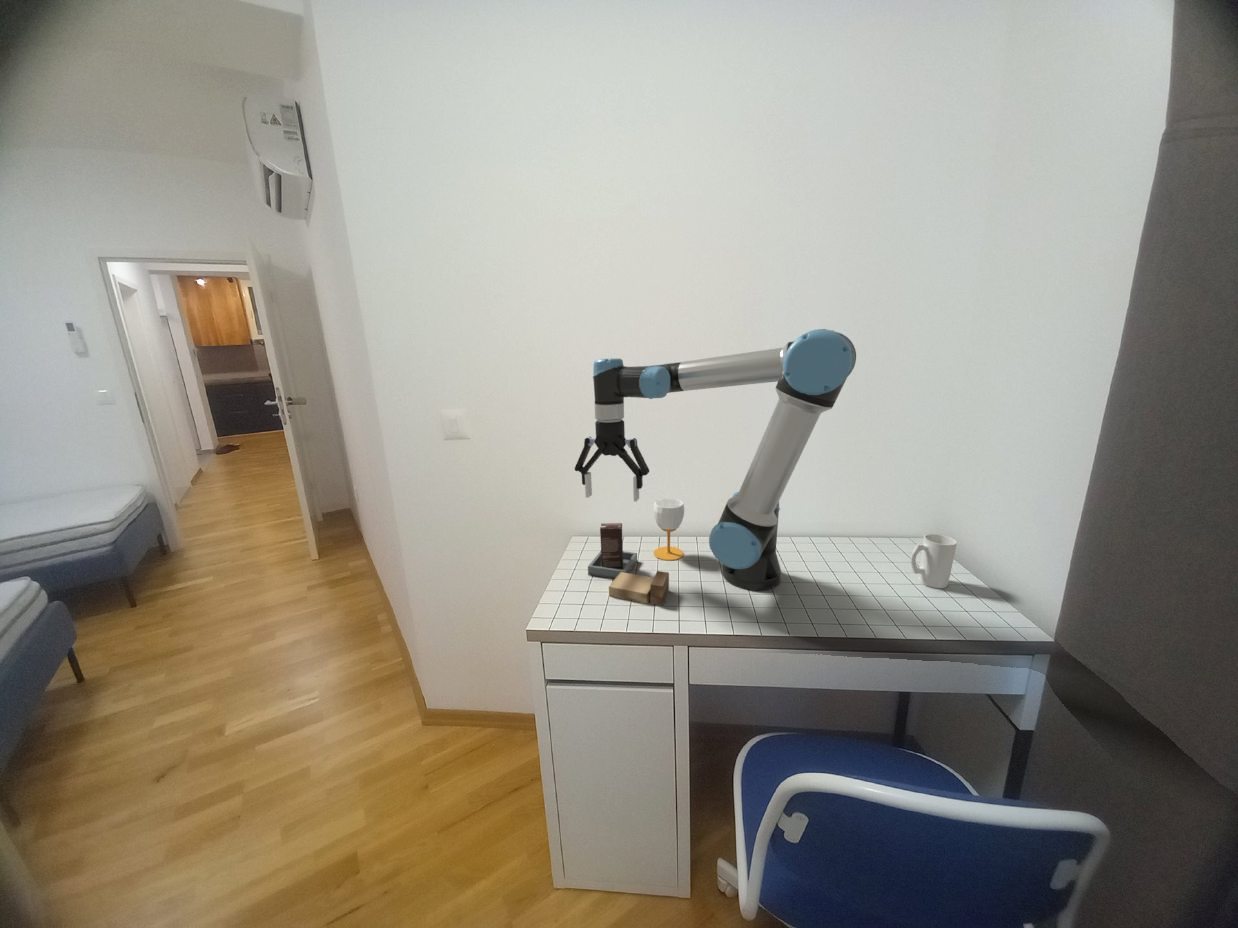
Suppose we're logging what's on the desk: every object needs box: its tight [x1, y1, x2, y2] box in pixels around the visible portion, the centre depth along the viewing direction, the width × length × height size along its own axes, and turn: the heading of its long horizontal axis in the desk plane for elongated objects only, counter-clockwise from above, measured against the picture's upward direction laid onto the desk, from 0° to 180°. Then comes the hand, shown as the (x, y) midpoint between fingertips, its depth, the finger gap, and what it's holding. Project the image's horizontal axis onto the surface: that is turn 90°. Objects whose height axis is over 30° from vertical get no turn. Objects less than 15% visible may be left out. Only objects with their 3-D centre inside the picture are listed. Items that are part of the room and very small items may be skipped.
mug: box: [910, 533, 958, 589], centre depth 113 cm, size 10×7×12 cm, turn 91°
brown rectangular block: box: [649, 570, 670, 606], centre depth 110 cm, size 3×7×5 cm, turn 162°
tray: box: [587, 550, 638, 580], centre depth 125 cm, size 11×12×2 cm
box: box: [599, 522, 624, 568], centre depth 124 cm, size 6×4×12 cm
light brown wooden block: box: [608, 572, 654, 604], centre depth 113 cm, size 10×8×3 cm
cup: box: [653, 497, 685, 561], centre depth 132 cm, size 9×9×16 cm
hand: (612, 498), depth 120 cm, fingers open, 13 cm apart
